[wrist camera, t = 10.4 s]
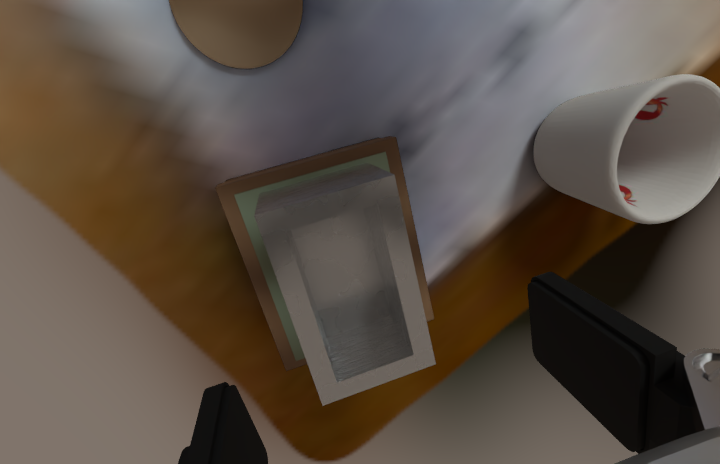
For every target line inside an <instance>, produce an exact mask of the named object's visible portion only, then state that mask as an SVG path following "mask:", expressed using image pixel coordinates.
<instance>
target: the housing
mask: <svg viewBox="0 0 720 464" xmlns="http://www.w3.org/2000/svg"><path fill="white" fill-rule="evenodd" d="M254 217H255V220H256V222H257V225H258V228H259V231H260V234H261V236H262V239H263V242H264V245H265V247H266V250H267V253H268V256H269V259H270V261H271V264H272V267H273V270H274V272H275V275H276V278H277V281H278V283H279V286H280V289H281V292H282V295H283V297H284V300H285V303H286V306H287V308H288V311H289V314H290V317H291V319H292V322H293V325H294V328H295V331H296V333H297V336H298V339H299V342H300V344H301V347H302V350H303V353H304V355H305V358H306V361H307V364H308V367H309V369H310V372H311V375H312V378H313V380H314V383H315V386H316V389H317V391H318V394H319V397H320V400H321V403H322V405H323V406H324V405H326V404H329V403H332V402H334V401H337V400H340V399H343V398H345V397H348V396H351V395H353V394H356V393H359V392H362V391H364V390H367V389H370V388H372V387H375V386H378V385H381V384H383V383H386V382H389V381H391V380H394V379H397V378H400V377H402V376H405V375H408V374H410V373H413V372H416V371H419V370H421V369H424V368H427V367H429V366H432V365H435V364H436V363H435V358H434V353H433V349H432V344H431V340H430V335H429V331H428V326H427V321H426V317H425V312H424V308H423V303H422V298H421V294H420V289H419V285H418V280H417V276H416V271H415V266H414V262H413V257H412V253H411V248H410V244H409V239H408V234H407V230H406V225H405V221H404V216H403V211H402V207H401V202H400V198H399V193H398V189H397V184H396V179H395V175H394V174H392V173H390V172H387V171H385V170H383V169H381V168H379V167H376V166H374V165H372V164H370V163H368V162H367V163H363V164H360V165H356V166H353V167H349V168H346V169H342V170H339V171H335V172H332V173H328V174H325V175H321V176H318V177H314V178H311V179H307V180H304V181H301V182H297V183H294V184H290V185H287V186H283V187H280V188H276V189H273V190H269V191H266V192H262V193H259V198H258V202H257V206H256V210H255V215H254Z"/></svg>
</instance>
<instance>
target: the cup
mask: <svg viewBox="0 0 720 464" xmlns="http://www.w3.org/2000/svg"><path fill="white" fill-rule="evenodd" d="M533 154H534V162H535V166H536V169H537V171H538V173H539V175H540V176H541V178H542V179H543V180H544V181H545V182H546V183H547V184H548V185H550V186H551V187H553V188H554V189H556V190H558V191H560V192H562V193H564V194H567V195H569V196H572V197H574V198H577V199H579V200H582V201H584V202H586V203H589V204H591V205H594V206H596V207H599V208H601V209H604V210H606V211H609V212H611V213H614V214H616V215H619V216H621V217H624V218H626V219H629V220H631V221H634V222H638V223H644V224H657V223H663V222H667V221H670V220H673V219H676V218H678V217H679V216H681V215H683V214H685V213H687V212H688V211H690V210H691V209H692V208H693V207H695V206H696V205H697V204H698V203H699V202H700V201H701V200H702V199H703V198H704V197H705V196H706V195H707V194H708V193H709V191H710V190H711V189H712V187H713V186H714V185H715V183H716V182H717V180H718V178H719V177H720V88H719V87H718V86H717V85H716V84H714V83H713V82H712V81H710V80H708V79H706V78H703V77H701V76H696V75H689V74H682V75H674V76H669V77H664V78H659V79H655V80H650V81H646V82H641V83H637V84H632V85H628V86H623V87H618V88H614V89H609V90H605V91H600V92H596V93H591V94H587V95H583V96H579V97H576V98H573V99H571V100H568V101H566V102H564V103H563V104H561V105H559V106H558V107H557V108H555V109H554V110H553V111H552V112H551V113H550V114H549V115H548V116H547V117H546V118H545V120H544V121H543V123H542V124H541V126H540V128H539V130H538V133H537V135H536V138H535V143H534V152H533Z"/></svg>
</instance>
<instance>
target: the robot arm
mask: <svg viewBox="0 0 720 464" xmlns="http://www.w3.org/2000/svg"><path fill="white" fill-rule="evenodd" d="M528 299H529V311H530V323H531V335H532V347H533V353H534V356H535V358H536V359H537V361H539V363H540V364H541V365H542V366H543V367H544V368H545V369H546V370H547V371H548V372H549V373H550V374H551V375H552V376H553V377H554V378H555V379H556V380H558V382H560V383H561V385H562V386H563V387H565V388H566V389H567V390H568V391H569V392H570V393H571V394H572V395H573V396H574V397H575V398H576V399H577V400H578V401H579V402H580V403H581V404H582V405H583V406H584V407H585V408H586V409H587V410H588V411H589V412H590V413H591V414H592V415H593V416H594V417H595V418H596V419H597V420H598V421H599V422H600V423H601V424H602V425H603V426H604V427H605V428H606V429H607V430H608V431H609V432H610V433H611V434H612V435H613V436H614V437H615V438H616V439H618V440H619V442H621V443H622V444H623V445H624V446H625V447H626V448H627V449H628V450H630V451H632V452H635V451H636V452H637V453H638V455H635V456H632V457H630V458H628V459H625V460H623V461H620V462H618V463H615V464H720V350H719V349H705V348H704V349H698V350H694V351H692V352H690V353H688V354H687V355H686V356H684V355H683V354H681V353H679V352H678V351H677V347H675V346H674V345H672V344H670V343H669V342H667V341H665V340H664V339H662V338H660V337H659V336H657V335H655V334H654V333H652V332H650V331H649V330H647V329H645V328H644V327H642V326H640V325H639V324H637V323H636V322H634V321H632V320H630V319H629V318H627V317H626V316H624V315H622V314H621V313H619V312H617V311H616V310H614V309H612V308H611V307H609V306H608V305H606V304H604V303H603V302H601V301H599V300H598V299H596V298H594V297H593V296H591V295H589V294H588V293H586V292H584V291H583V290H581V289H579V288H578V287H576V286H574V285H573V284H571V283H570V282H568V281H566V280H565V279H563V278H561V277H560V276H558V275H556V274H555V273H553V272H547V273H544V274H541V275H538V276H535V277H533V278H532V279H531V283H529V284H528ZM178 464H268V457H267V452H266V449H265V447H264V445H263V443H262V440H261V438H260V436H259V434H258V432H257V430H256V428H255V426H254V424H253V421H252V420H251V417H250V415H249V413H248V411H247V409H246V407H245V404H244V402H243V400H242V398H241V396H240V394H239V392H238V390H237V388H236V386H235V385H231V386H229V385H228V383H226V382H224V383H221V384H218V385H216V386H212V387H209V388H207V389H205V391H204V393H203V397H202V402H201V405H200V409H199V413H198V417H197V421H196V425H195V429H194V433H193V437H192V441H191V445H190V446H189V447H186V448H185V449H184V450H183V451H182V453H181V456H180V459H179V463H178Z"/></svg>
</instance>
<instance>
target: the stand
mask: <svg viewBox="0 0 720 464" xmlns="http://www.w3.org/2000/svg"><path fill="white" fill-rule="evenodd" d="M367 162H368V163H370V164H372V165H374V166H376V167H379V168H381V169H383V170H385V171H387V172H390V173H392V174H394V175H395V179H396V184H397V189H398V193H399V198H400V202H401V207H402V211H403V216H404V221H405V225H406V230H407V234H408V239H409V244H410V248H411V253H412V257H413V262H414V266H415V271H416V276H417V280H418V285H419V289H420V294H421V298H422V303H423V308H424V312H425V317H426V321H430V320H433V319H434V316H433V311H432V306H431V301H430V297H429V292H428V287H427V282H426V277H425V273H424V268H423V263H422V258H421V254H420V249H419V244H418V239H417V235H416V230H415V225H414V220H413V216H412V211H411V206H410V201H409V197H408V192H407V187H406V182H405V178H404V173H403V168H402V163H401V159H400V154H399V149H398V144H397V140H396V137H392V136H389V137H385V138H375V139H371V140H368V141H364V142H361V143H357V144H354V145H350V146H346V147H343V148H339V149H336V150H332V151H329V152H325V153H321V154H318V155H314V156H311V157H307V158H304V159H300V160H296V161H293V162H289V163H286V164H282V165H279V166H275V167H271V168H268V169H264V170H261V171H257V172H254V173H250V174H246V175H243V176H239V177H236V178H232V179H229V180H226V181H225V182H224V183H221V184H218V185H217V186H216V188H215V189H216V191H217V194H218V197H219V199H220V202H221V204H222V207H223V209H224V212H225V215H226V217H227V220H228V222H229V225H230V227H231V230H232V233H233V235H234V238H235V240H236V243H237V245H238V248H239V251H240V253H241V256H242V258H243V261H244V263H245V266H246V269H247V271H248V274H249V276H250V279H251V281H252V284H253V287H254V289H255V292H256V294H257V297H258V299H259V302H260V305H261V307H262V310H263V312H264V315H265V317H266V320H267V323H268V325H269V328H270V330H271V333H272V335H273V338H274V341H275V343H276V346H277V348H278V351H279V354H280V356H281V359H282V361H283V364H284V366H285V369H286V371H288V370H291V369H294V368H297V367H300V366H303V365H305V364H307V361H306V358H305V355H304V353H303V350H302V347H301V344H300V342H299V339H298V336H297V333H296V331H295V328H294V325H293V322H292V319H291V317H290V314H289V311H288V308H287V306H286V303H285V300H284V297H283V295H282V292H281V289H280V286H279V283H278V281H277V278H276V275H275V272H274V270H273V267H272V264H271V261H270V259H269V256H268V253H267V250H266V247H265V245H264V242H263V239H262V236H261V234H260V231H259V228H258V225H257V222H256V220H255V217H254V215H255V210H256V206H257V202H258V198H259V193H262V192H266V191H269V190H273V189H276V188H280V187H283V186H287V185H290V184H294V183H297V182H301V181H304V180H307V179H311V178H314V177H318V176H321V175H325V174H328V173H332V172H335V171H339V170H342V169H346V168H349V167H353V166H356V165H360V164H363V163H367Z"/></svg>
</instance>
